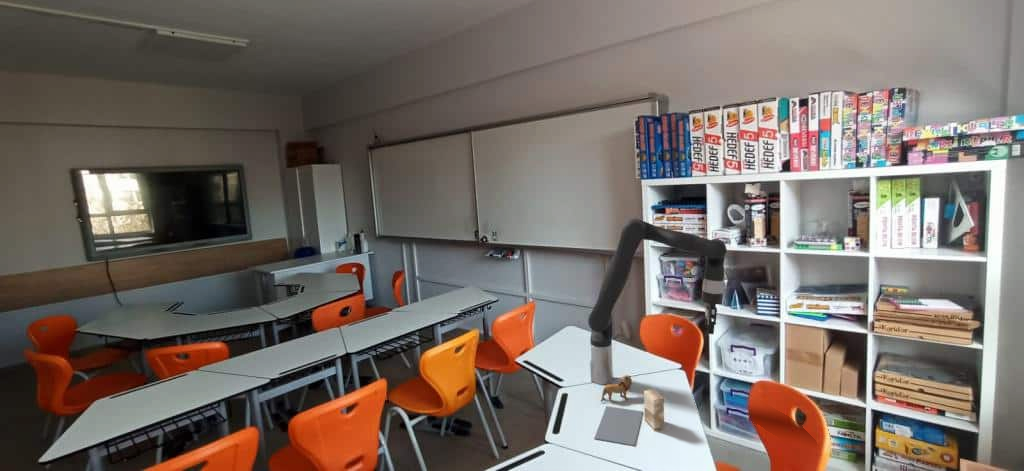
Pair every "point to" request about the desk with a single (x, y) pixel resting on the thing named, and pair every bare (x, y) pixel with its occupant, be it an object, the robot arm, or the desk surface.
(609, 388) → the lion figurine
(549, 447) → the desk surface
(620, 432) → the slate mat
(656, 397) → the birch block
